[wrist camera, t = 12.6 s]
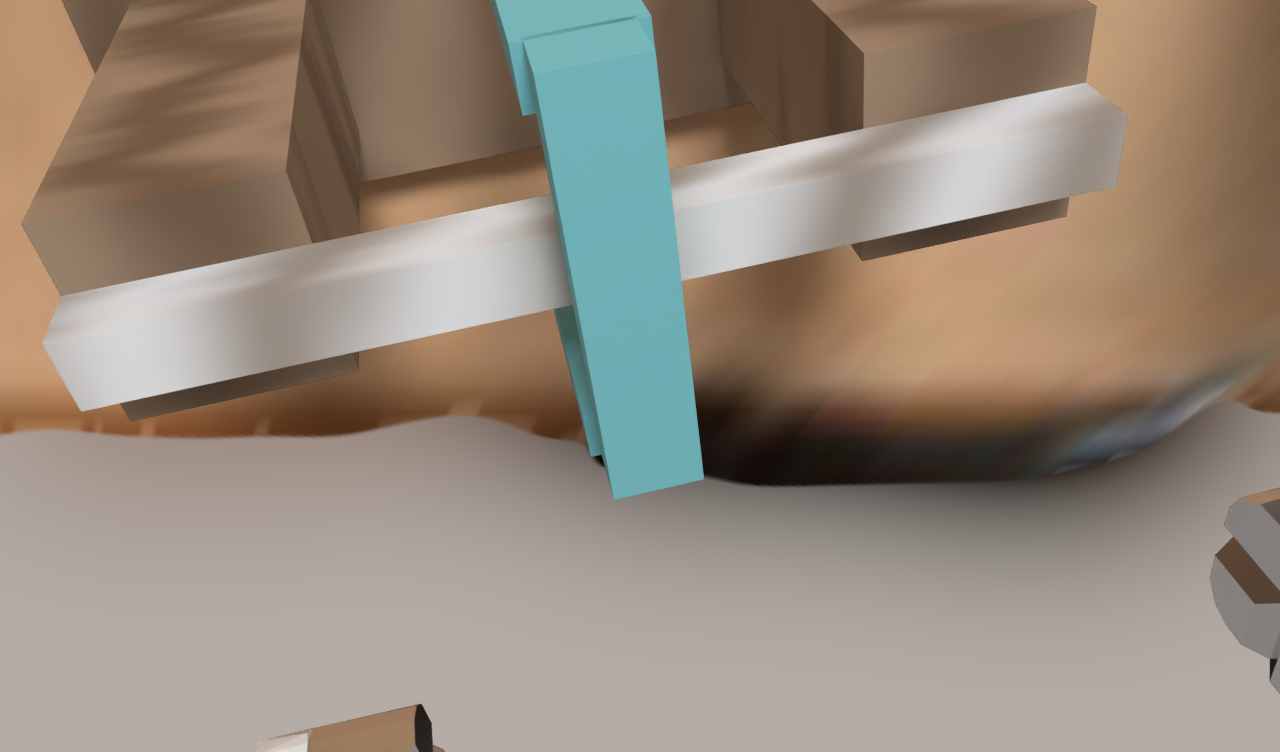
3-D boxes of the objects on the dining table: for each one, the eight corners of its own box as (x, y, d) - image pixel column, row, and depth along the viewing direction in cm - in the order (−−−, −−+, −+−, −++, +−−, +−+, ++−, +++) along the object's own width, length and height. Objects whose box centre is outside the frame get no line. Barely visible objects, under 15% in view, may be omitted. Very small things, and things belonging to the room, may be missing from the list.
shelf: (912, -215, 39) (1241, -70, 24) (903, 55, 45) (1160, 298, 30) (51, -59, 36) (-154, 207, 22) (169, 204, 42) (70, 546, 28)
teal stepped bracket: (593, -79, 28) (670, 47, 21) (644, 290, 35) (715, 476, 28) (478, -58, 28) (518, 77, 21) (554, 310, 35) (602, 502, 28)
